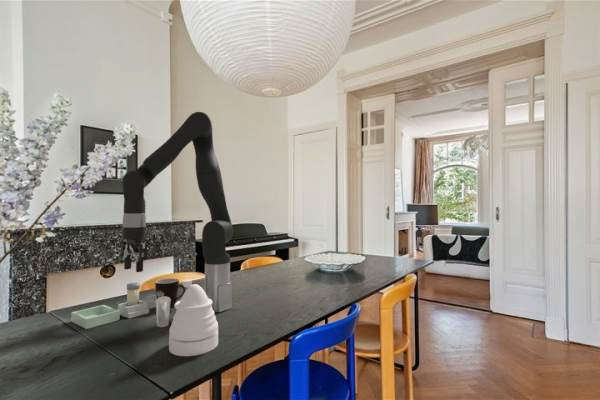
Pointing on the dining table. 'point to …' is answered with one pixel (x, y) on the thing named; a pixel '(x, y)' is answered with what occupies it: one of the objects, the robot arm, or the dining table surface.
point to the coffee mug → (168, 289)
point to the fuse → (133, 294)
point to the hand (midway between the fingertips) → (133, 270)
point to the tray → (95, 316)
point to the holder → (133, 309)
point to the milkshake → (162, 311)
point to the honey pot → (193, 323)
